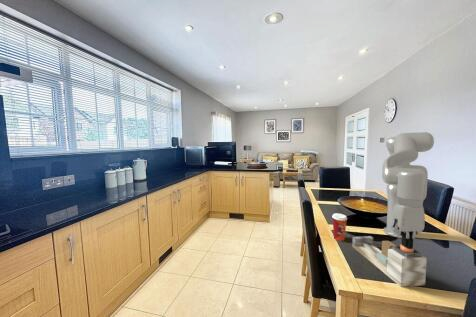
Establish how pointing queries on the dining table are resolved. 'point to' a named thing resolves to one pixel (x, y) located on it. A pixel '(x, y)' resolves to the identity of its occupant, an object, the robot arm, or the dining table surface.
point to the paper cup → (339, 226)
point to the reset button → (406, 249)
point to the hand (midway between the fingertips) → (406, 246)
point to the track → (395, 262)
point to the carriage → (385, 252)
